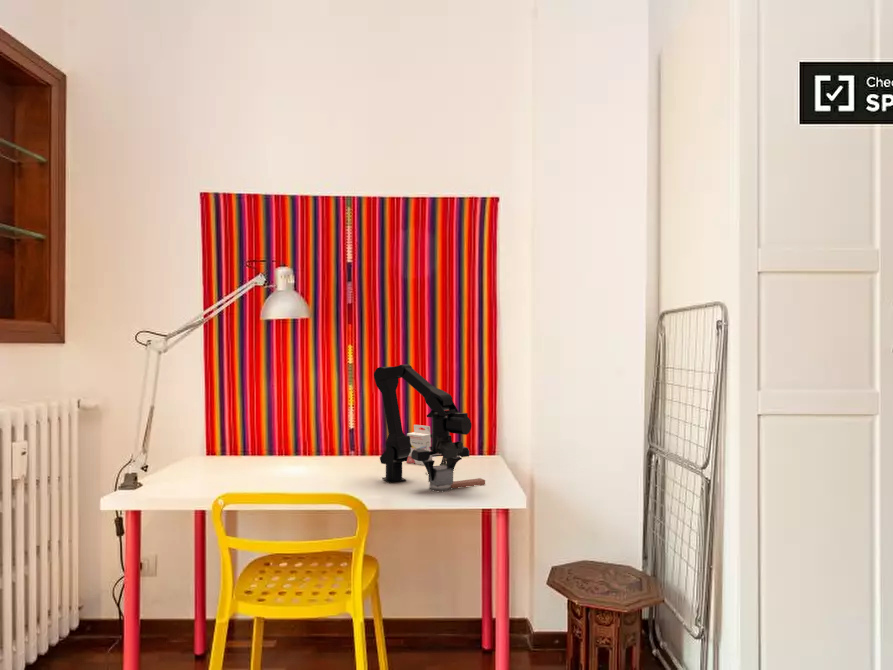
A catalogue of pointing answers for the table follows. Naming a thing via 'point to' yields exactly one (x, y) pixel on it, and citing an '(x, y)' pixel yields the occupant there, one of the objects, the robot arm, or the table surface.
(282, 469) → the table surface
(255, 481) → the table surface
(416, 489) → the table surface
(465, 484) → the hammer
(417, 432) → the ink cartridge box
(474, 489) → the table surface
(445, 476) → the socket
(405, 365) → the robot arm
